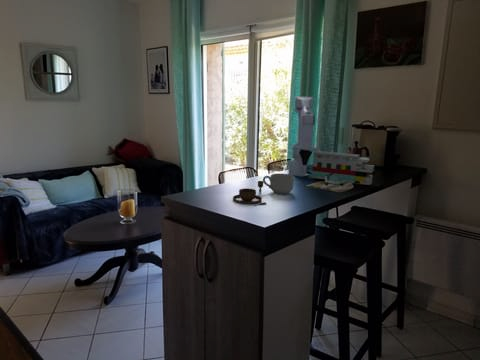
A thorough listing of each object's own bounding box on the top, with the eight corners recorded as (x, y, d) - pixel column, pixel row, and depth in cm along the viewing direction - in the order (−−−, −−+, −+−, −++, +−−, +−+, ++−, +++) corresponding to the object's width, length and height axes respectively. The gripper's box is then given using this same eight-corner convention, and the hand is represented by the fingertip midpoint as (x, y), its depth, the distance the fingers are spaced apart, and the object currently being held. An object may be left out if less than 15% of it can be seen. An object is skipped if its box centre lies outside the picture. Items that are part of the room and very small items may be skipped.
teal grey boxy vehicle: (324, 185, 173) (324, 174, 171) (331, 183, 177) (332, 172, 176) (337, 187, 168) (338, 176, 167) (344, 185, 173) (345, 175, 171)
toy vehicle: (370, 187, 176) (373, 158, 173) (311, 180, 190) (313, 152, 187) (372, 184, 183) (375, 156, 180) (315, 177, 197) (317, 150, 194)
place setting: (223, 198, 149) (223, 185, 147) (259, 192, 160) (260, 180, 159) (248, 209, 135) (248, 194, 134) (286, 202, 147) (287, 188, 145)
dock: (305, 187, 176) (305, 180, 175) (318, 183, 186) (318, 176, 185) (341, 194, 164) (342, 186, 163) (353, 189, 175) (353, 182, 174)
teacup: (294, 191, 163) (295, 174, 161) (291, 197, 153) (292, 179, 151) (265, 188, 167) (266, 172, 165) (260, 193, 156) (261, 176, 155)
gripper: (290, 137, 178) (288, 164, 181) (315, 140, 169) (313, 167, 172) (297, 136, 183) (295, 162, 186) (322, 139, 175) (320, 166, 177)
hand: (304, 165), depth 180 cm, fingers closed
